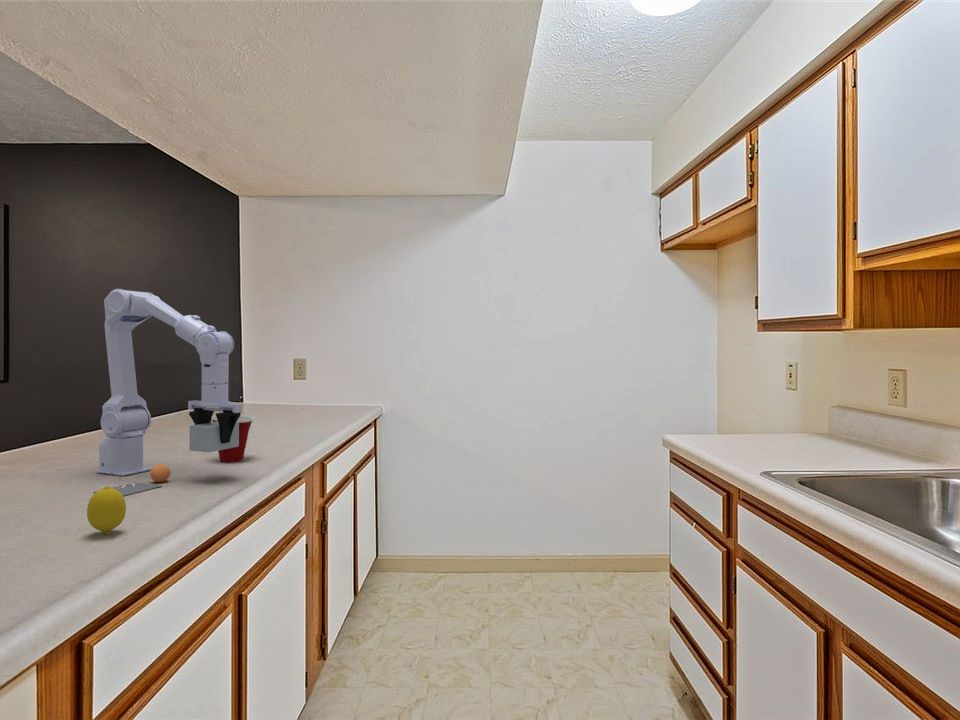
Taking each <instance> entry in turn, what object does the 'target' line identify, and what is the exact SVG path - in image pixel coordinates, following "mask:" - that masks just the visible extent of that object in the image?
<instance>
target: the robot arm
mask: <svg viewBox="0 0 960 720" xmlns="http://www.w3.org/2000/svg"><path fill="white" fill-rule="evenodd" d="M103 303H104V304H103V306H104V313H105V320H104V333H105V335H104V336H105V345H106V353H107V355H106V356H107V363H108V364H107V365H108V373H109V381H110V382H109V384H110V393H111V397H110V398H109V399H108V400H107V401H105V402H104V404H103V405H102V406H101V408H102V414H101V418H100V428H101V430H102V432H103V433H104V434H105V436H104V437H103V438H102V439H101V441H100V443H99V447H98V450H99V451H98V461H99V462H98V465H99V466H98V467H99V468H98V469H96V470H95V473H100V474H105V473H106V475H112V474H113V475H114V476H120V475H121V476H120V477H124V476H129V474H130V475H134V474H137V473H138V472H139V473H143V472H147V470H148V471H151V470H152V468H153V467H149V466H148V467H147V466H144V435H146V430H147V429H148V428H150V426H151V423H152V416H151V413H150V411H149V409H148V406H147V401H146V400H145V399H144V398H143V397H142V396H140V395H139V394H138V385H137V377H136V366H135V365H136V364H135V356H134V345H133V337H132V331H133V330H134V329H135V328H136V327H137V326H139V325H141V324H142V323H143V322H145V321H146V320H148V319H150V318H151V317H154V318H156V319H158V320H159V321H162V322H163V323H164V324H167V325H169V326H170V327H173V328H174V332H175V334H176V336H177V337H179V338H180V339H183V340H184V341H186V342H187V343H189V344H190V345H192V346H193V347H195V349H196V351H197V353H198V354H199V355H198V356H199V361H200V363H201V398H200V399H201V400H195V399H194V400H188V403H187V409H188V410H192V411H189V412H188V414H189V415H188V416H189V417H190V419H191V420H192V422H193V425H199V424H206V423H212V420H211V419H212V416H214V412H217V413H215V415H216V417H217V419H218V423H219V428H220V441H221V443H222V444H224V443H229V442H230V439H231V435H232V432H233V429H234V426H235V424H236V422H237V420H238V419H239V417H240V415H242V413H243V403H237V402H232V401H230V400H229V378H230V376H229V369H230V368H229V364H230V363H229V362H230V361H229V357H230V356H229V355H230V354H231V353H232V352H233V351H234V349H235V348H234V347H235V340H234V338H233V336H232V335H231V334H229V332H227V331H217V329H216V327H215V326H213V325H208V324H207V323H205V322H204V321H202V320H201V317H200V316H198V315H197V314H196V315H195V314H194V315H192V314H188V315H183V314H181V313H180V312H179V311H177V310H175V308H173V307H172V306H170V305H169V304H167V303H165V301H163V300H162V299H160V297H159V296H157V295H154V294H153V293H152V292H149V291H135V290H125V289H122V288H115V289H113V290H111V291H110V292H109V294H108V295H107V296H106V297H105V298H104V300H103ZM124 407H125V408H124ZM126 407H127V408H126ZM139 473H138V474H139ZM113 475H112V476H113Z"/></svg>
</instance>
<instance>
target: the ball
mask: <svg viewBox="0 0 960 720" xmlns="http://www.w3.org/2000/svg"><path fill="white" fill-rule="evenodd" d="M151 468H152V470H150V473H149V474H150V475H149V476H150V478H151V480H152V481H154V482H156V483H163V482H166V481H167V480H168V479H169V478H170V475H171V470H170V468H169V467H168V466H167V465H166V464H156V465H155V466H153V467H151Z"/></svg>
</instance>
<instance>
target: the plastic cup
mask: <svg viewBox="0 0 960 720" xmlns="http://www.w3.org/2000/svg"><path fill="white" fill-rule="evenodd" d="M254 419H255V418H254V417H252V416H249V415H242V414H241V415H240V417H239V419H238V420H237V422H236V423H239V446H238V447H233V448H228V449H224V450H219V451H217V452H218V457H219V461H220V462H221V463H238V462H242V461H243V460H244V457H245V451H246V448H247V442H248V438H249V431H250V428H251V427H252V426H251V425H252V422H253V421H254ZM211 422H218V419H217V417H216V414H215V415H212V419H211Z"/></svg>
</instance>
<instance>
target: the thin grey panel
mask: <svg viewBox="0 0 960 720" xmlns="http://www.w3.org/2000/svg"><path fill="white" fill-rule="evenodd" d="M133 483H135V486H134V487H133V485H132V484H130V483H126V484H125V485H126V486H125V487H124V488H121V487H123V486H122V485H123V484H122V485H118V487H117V486H114V487H112V488H113V489H116V490H118V491H119V492H121V494H122V495H123V497H126V496H125V495H127V496H130V495H129V494H131V495H134V494H133V493H135V494H138V493H137V492H139V493H141V492H140V491H143V492H146V491H145V490H147V491H150V490H149V489H151V490H153V489H152V488H155V489H157V488H156V487H159V488H161V487H160V486H161V485H157V484H151V483H144V482H138V481H136V482H135V481H134V482H133ZM118 488H119V489H118ZM97 491H98V490H96V491H93V492H94V493H93V494H95V493H96V492H97Z"/></svg>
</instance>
